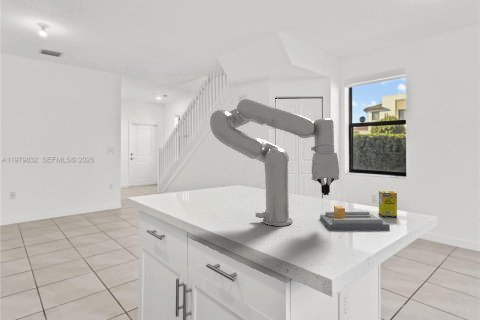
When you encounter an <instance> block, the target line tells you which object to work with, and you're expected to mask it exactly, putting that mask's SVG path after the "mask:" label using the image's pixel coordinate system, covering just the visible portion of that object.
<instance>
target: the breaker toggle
mask: <svg viewBox="0 0 480 320" xmlns="http://www.w3.org/2000/svg"><path fill="white" fill-rule="evenodd" d="M345 211H346V208H345V207H344V206H343V205H333V212H334V218H335V219H345Z"/></svg>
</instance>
